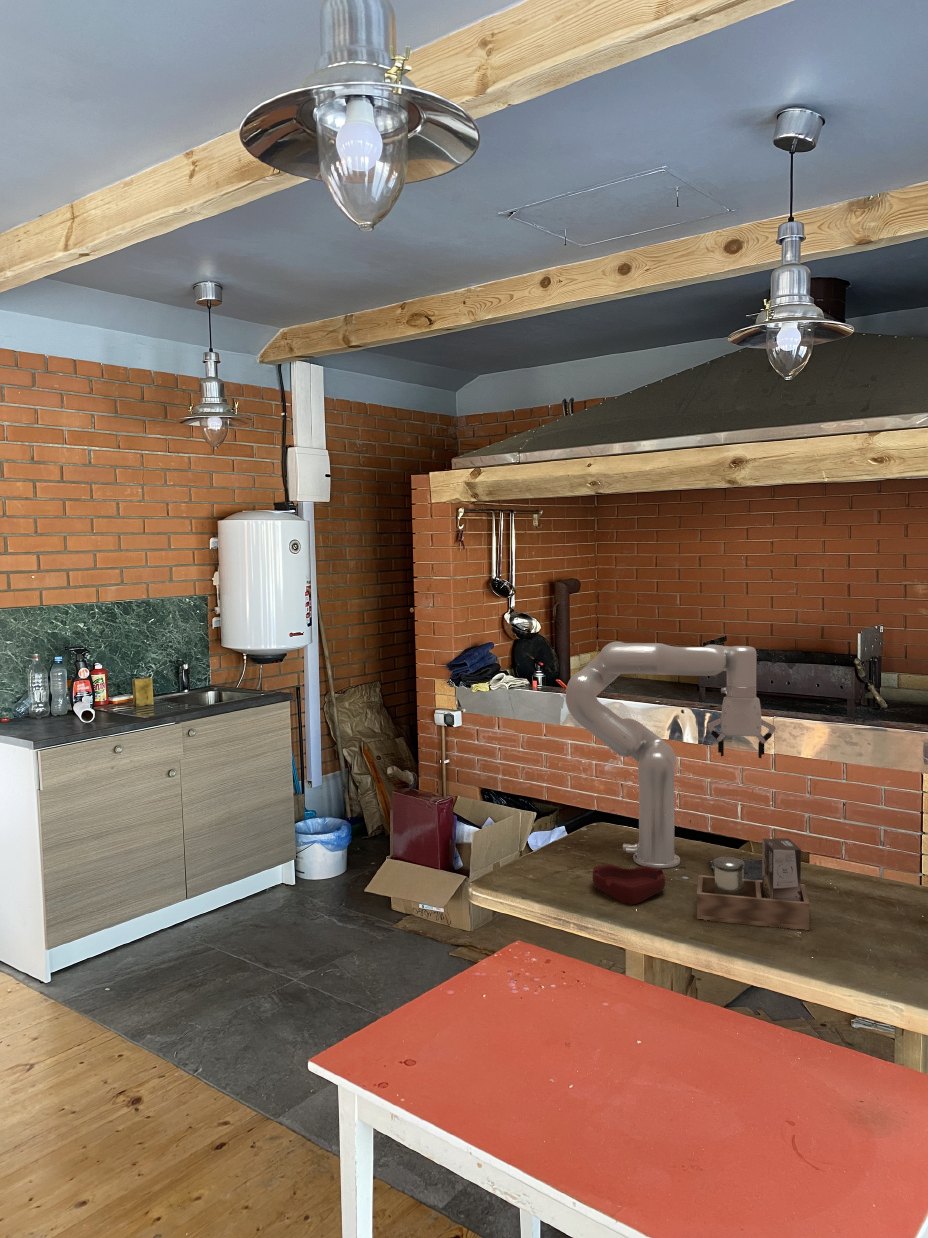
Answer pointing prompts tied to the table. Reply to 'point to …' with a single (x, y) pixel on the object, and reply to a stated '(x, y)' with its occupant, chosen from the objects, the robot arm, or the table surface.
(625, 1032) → the table surface
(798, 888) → the coffee box
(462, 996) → the table surface
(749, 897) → the caddy
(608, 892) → the ashtray
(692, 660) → the robot arm
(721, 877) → the tea tin
